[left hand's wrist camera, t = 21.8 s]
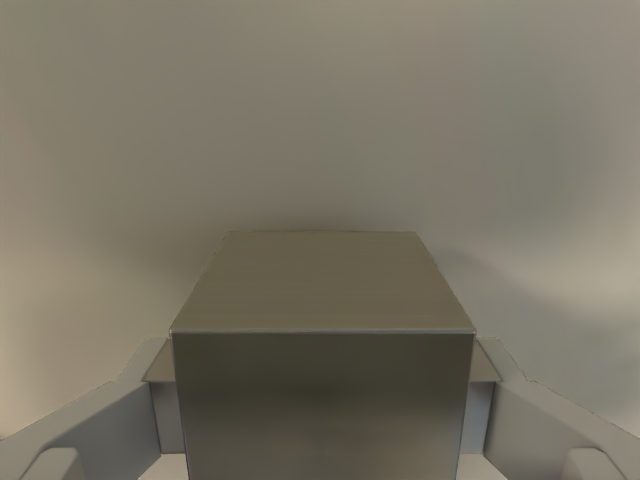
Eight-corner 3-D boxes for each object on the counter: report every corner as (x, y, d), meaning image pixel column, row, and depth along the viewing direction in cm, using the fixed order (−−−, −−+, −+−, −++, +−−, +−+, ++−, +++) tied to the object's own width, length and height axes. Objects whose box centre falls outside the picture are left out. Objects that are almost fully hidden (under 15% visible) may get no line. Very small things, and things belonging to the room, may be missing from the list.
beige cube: (403, 388, 13) (447, 550, 9) (239, 388, 13) (196, 550, 9) (416, 230, 12) (478, 329, 7) (227, 230, 12) (167, 330, 7)
